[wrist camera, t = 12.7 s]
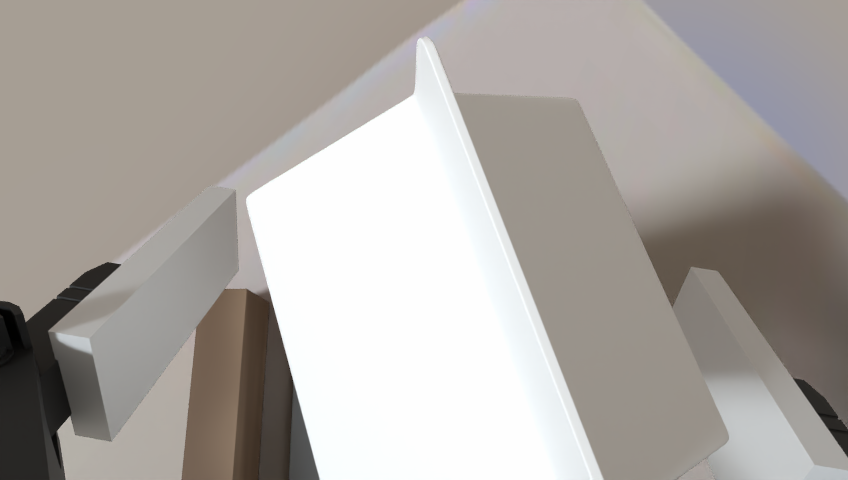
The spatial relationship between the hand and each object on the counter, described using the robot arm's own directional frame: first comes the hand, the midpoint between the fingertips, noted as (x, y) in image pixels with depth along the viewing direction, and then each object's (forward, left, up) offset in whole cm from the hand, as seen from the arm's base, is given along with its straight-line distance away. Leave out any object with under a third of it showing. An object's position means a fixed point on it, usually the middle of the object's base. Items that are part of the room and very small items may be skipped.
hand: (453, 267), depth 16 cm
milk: (0, +2, -12) cm, 12 cm away
